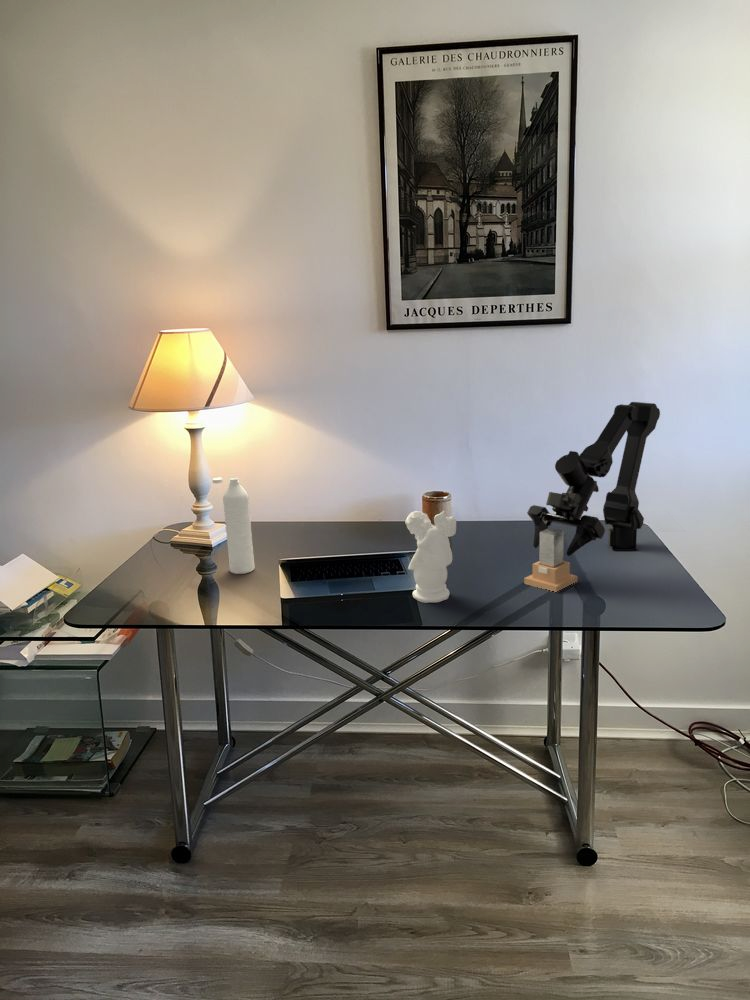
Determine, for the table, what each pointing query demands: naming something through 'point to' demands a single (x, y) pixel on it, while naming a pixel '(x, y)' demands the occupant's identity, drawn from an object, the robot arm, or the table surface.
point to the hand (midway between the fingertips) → (550, 551)
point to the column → (551, 547)
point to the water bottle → (238, 527)
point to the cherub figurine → (431, 555)
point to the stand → (550, 577)
